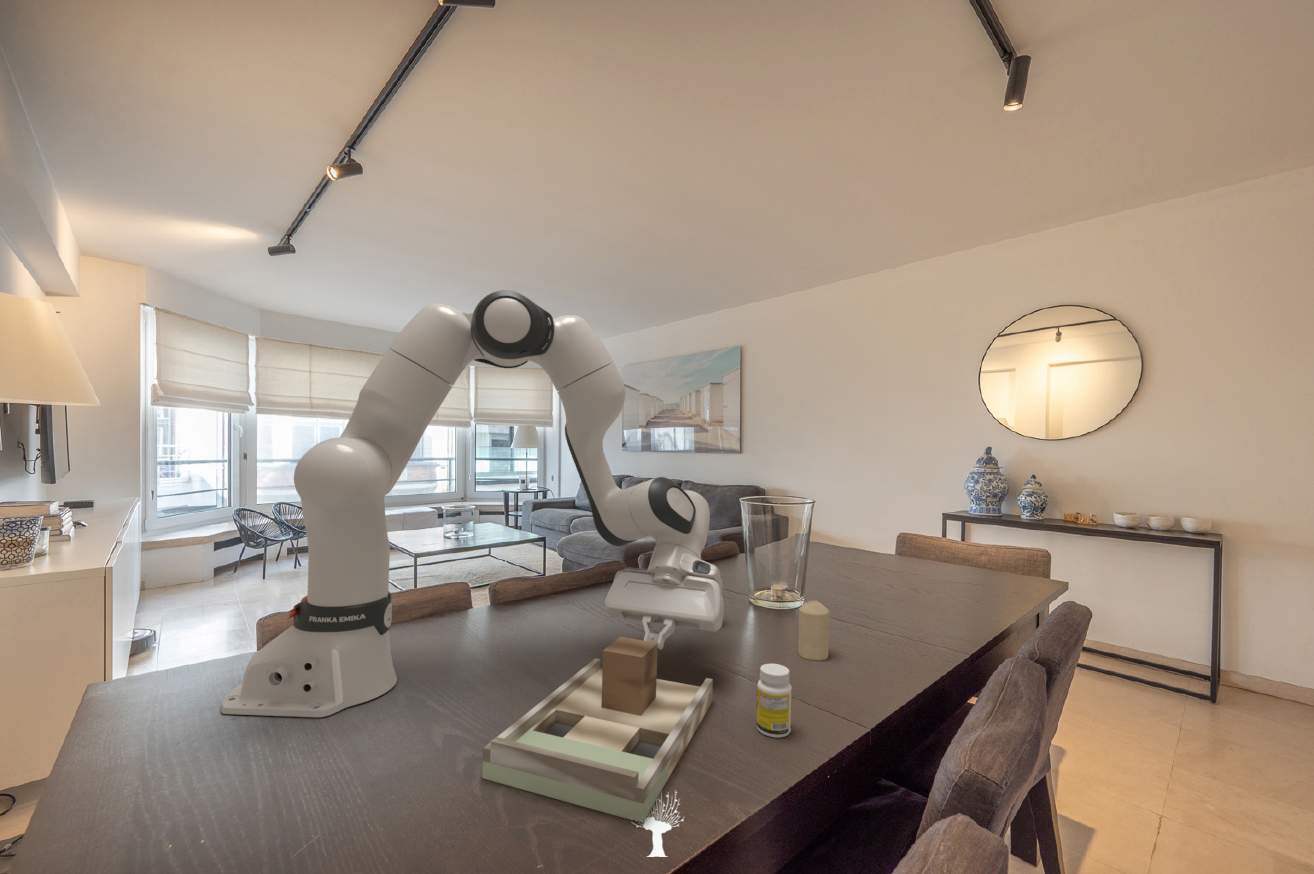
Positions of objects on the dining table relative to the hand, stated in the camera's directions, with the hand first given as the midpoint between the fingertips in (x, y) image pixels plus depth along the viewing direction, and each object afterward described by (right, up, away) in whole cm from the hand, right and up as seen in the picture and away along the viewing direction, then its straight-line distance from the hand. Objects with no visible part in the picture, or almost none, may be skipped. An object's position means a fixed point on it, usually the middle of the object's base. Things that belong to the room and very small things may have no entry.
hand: (652, 646), depth 88 cm
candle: (+30, -8, +16) cm, 35 cm away
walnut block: (-3, -5, -9) cm, 10 cm away
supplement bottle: (+17, -7, -11) cm, 22 cm away
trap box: (-5, -7, -14) cm, 16 cm away
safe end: (-9, -6, -24) cm, 26 cm away
